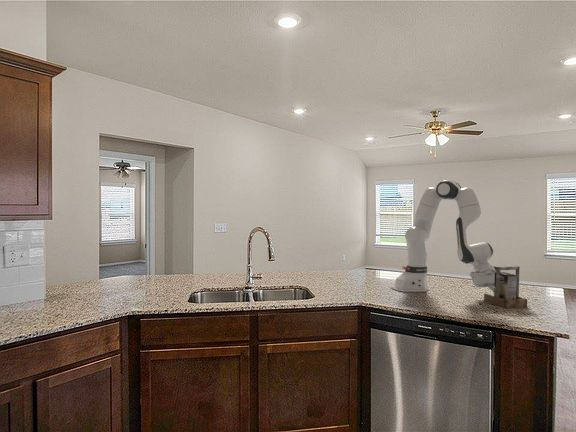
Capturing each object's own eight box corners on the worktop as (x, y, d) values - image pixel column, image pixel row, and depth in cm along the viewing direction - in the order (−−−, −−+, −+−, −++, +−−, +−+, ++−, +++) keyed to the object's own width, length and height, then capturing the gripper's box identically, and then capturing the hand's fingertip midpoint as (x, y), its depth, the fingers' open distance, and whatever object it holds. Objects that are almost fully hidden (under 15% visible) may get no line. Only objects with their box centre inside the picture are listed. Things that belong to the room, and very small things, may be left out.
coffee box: (493, 301, 220) (494, 272, 220) (503, 301, 222) (503, 271, 222) (506, 305, 212) (507, 275, 211) (516, 305, 213) (517, 274, 213)
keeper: (505, 308, 207) (506, 269, 206) (483, 301, 221) (484, 264, 221) (527, 307, 210) (528, 268, 209) (504, 300, 225) (505, 264, 224)
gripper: (471, 268, 226) (483, 289, 217) (502, 267, 231) (515, 288, 222) (465, 275, 230) (477, 296, 221) (496, 274, 235) (508, 294, 226)
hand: (496, 292), depth 222 cm, fingers closed, pressing on coffee box
